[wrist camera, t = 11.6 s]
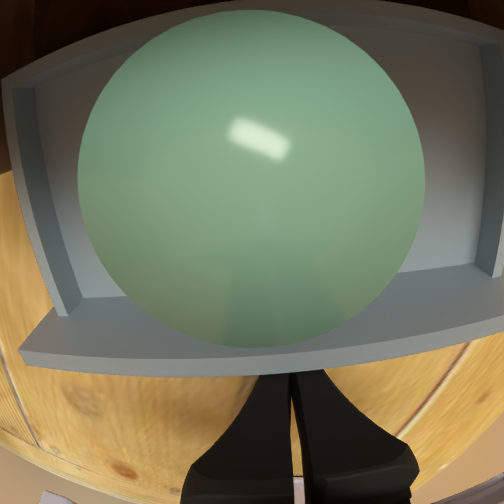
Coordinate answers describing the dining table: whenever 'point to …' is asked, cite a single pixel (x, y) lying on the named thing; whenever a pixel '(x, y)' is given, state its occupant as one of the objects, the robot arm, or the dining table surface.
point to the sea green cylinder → (251, 178)
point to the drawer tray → (372, 316)
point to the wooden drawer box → (22, 45)
